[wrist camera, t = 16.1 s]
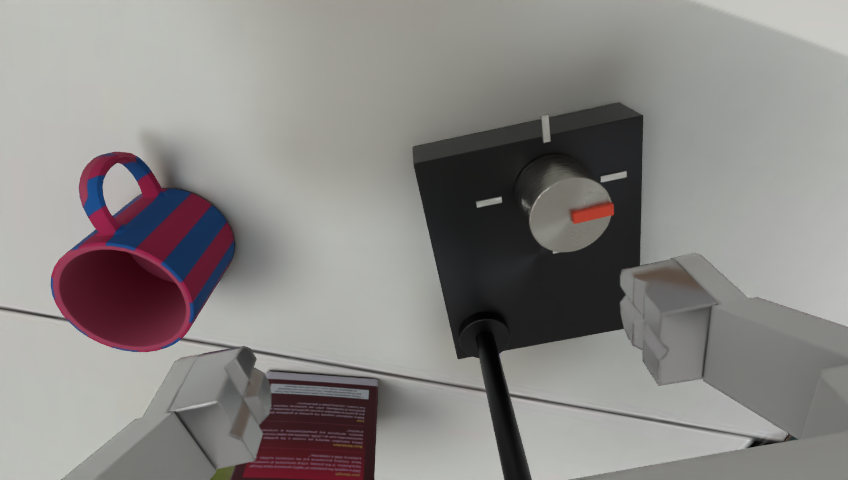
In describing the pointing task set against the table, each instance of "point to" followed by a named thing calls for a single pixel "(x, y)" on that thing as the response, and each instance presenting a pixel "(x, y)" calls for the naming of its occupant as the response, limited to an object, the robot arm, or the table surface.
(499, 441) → the desk lamp
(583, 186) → the dimmer knob
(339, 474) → the supplement box
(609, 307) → the lamp base
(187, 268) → the mug
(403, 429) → the table surface
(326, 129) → the table surface
